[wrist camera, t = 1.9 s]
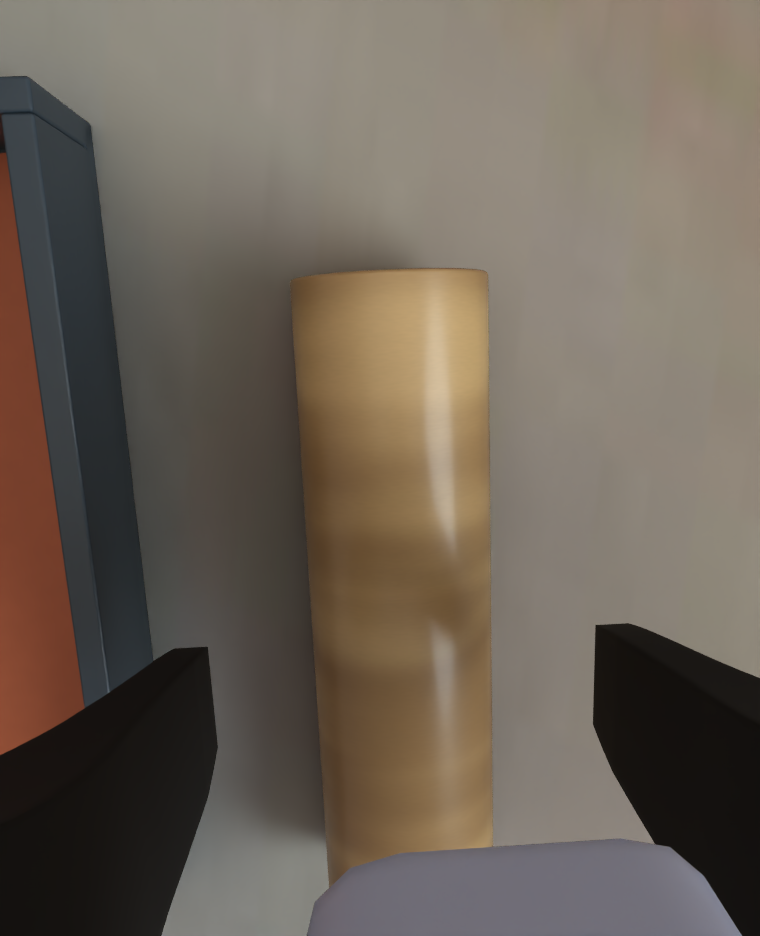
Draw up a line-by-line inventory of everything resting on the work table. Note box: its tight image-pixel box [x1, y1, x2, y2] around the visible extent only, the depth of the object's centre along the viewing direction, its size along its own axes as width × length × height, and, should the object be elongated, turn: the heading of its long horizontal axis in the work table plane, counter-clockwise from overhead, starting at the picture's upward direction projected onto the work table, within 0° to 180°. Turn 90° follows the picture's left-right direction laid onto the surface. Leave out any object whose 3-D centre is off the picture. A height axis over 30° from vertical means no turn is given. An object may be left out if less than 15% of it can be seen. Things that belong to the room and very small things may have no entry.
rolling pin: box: [290, 268, 493, 888], centre depth 16 cm, size 15×4×4 cm, turn 2°
